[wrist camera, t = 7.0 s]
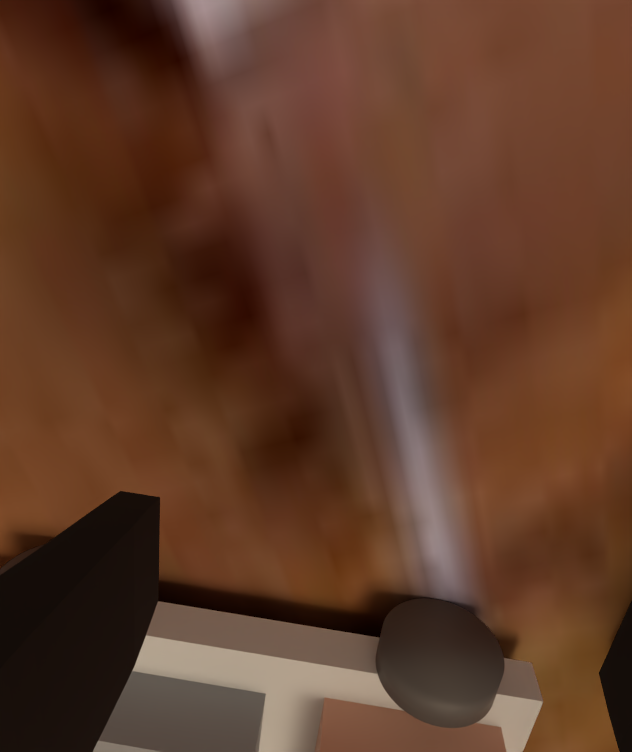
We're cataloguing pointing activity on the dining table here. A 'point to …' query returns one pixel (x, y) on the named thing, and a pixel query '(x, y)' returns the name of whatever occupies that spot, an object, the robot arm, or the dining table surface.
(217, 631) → the chassis
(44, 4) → the dining table surface
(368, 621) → the dining table surface
